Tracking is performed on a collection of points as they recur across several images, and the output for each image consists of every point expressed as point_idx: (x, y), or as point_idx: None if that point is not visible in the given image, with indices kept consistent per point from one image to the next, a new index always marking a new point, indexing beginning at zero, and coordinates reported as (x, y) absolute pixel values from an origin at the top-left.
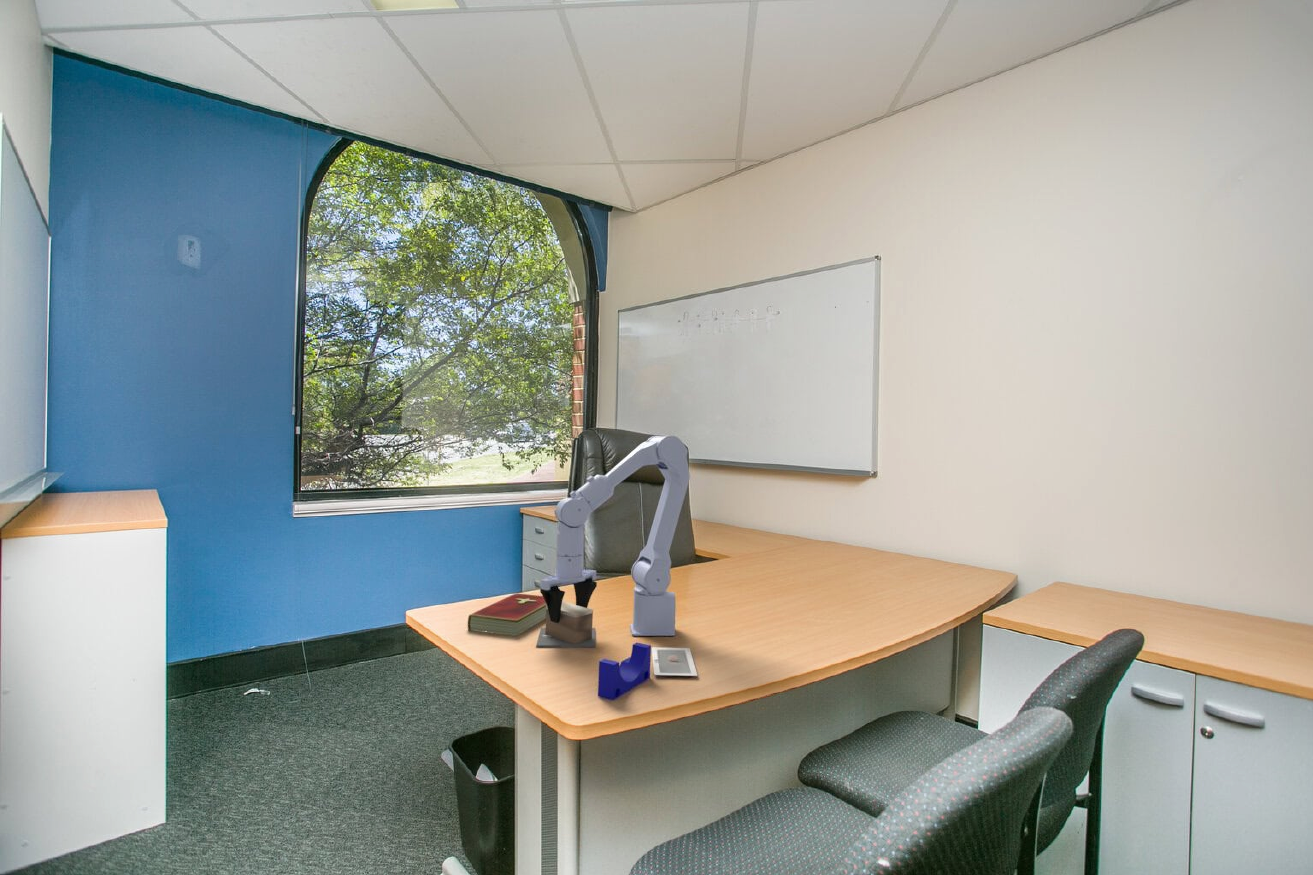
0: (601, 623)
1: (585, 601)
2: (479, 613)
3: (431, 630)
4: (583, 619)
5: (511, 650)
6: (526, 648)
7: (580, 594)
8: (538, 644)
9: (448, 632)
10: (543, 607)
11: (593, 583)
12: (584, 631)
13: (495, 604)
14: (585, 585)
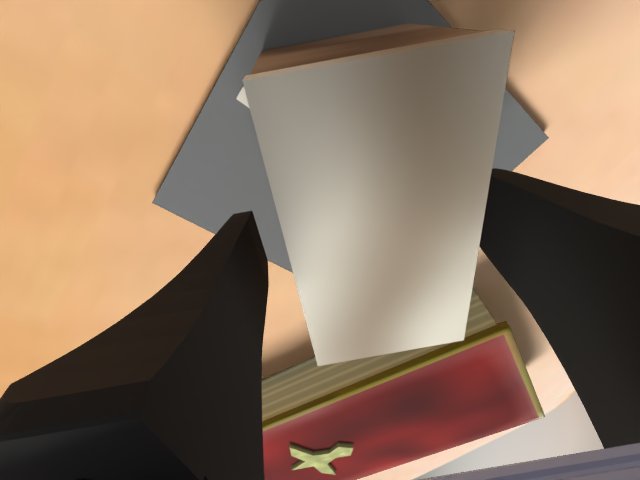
0: (83, 256)
1: (230, 265)
2: (517, 416)
3: (567, 397)
4: (373, 47)
5: (628, 161)
6: (576, 147)
7: (242, 355)
8: (532, 141)
9: (559, 376)
10: (296, 407)
11: (57, 428)
12: (336, 43)
13: (412, 456)
14: (200, 428)
